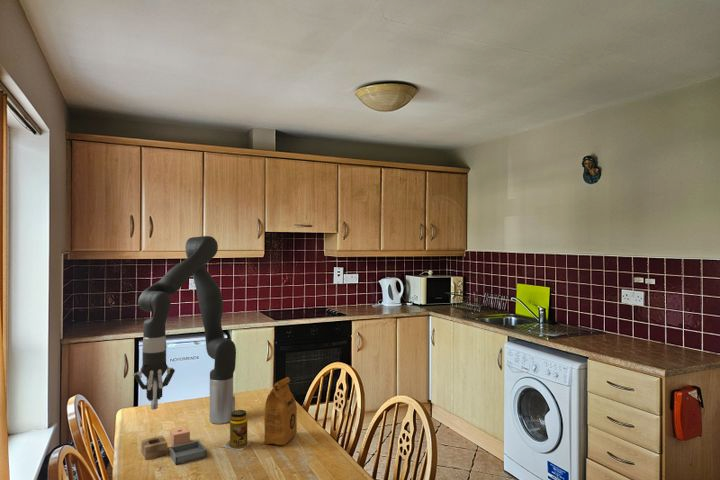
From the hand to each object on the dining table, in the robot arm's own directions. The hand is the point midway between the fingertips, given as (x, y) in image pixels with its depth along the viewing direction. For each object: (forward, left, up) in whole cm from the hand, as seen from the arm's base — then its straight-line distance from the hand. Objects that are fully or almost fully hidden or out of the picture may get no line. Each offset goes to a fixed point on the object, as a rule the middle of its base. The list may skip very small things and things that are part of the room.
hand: (154, 399), depth 167 cm
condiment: (-26, +9, -19) cm, 33 cm away
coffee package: (-41, +14, -19) cm, 47 cm away
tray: (-9, +9, -18) cm, 22 cm away
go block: (0, 0, -19) cm, 19 cm away
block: (-9, -2, -18) cm, 21 cm away
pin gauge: (0, 0, -3) cm, 3 cm away
